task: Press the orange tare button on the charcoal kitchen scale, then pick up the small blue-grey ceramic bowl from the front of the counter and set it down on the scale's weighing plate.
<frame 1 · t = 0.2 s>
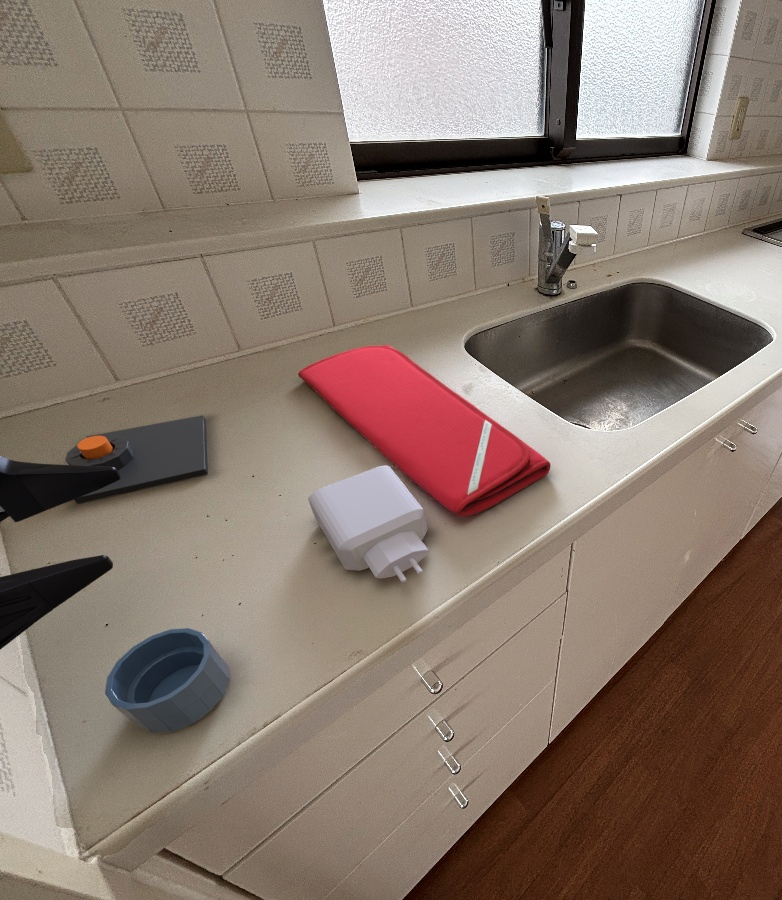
hand: (114, 513, 35), 16 cm above the counter, tool horizontal, fingers open, 9 cm apart
dish drying mat: (418, 425, 73), on the counter
scale: (148, 457, 62), on the counter
bowl: (186, 694, 42), on the counter
tare button: (95, 447, 58), point 3 cm above the counter, slide at 0.1 cm
charger: (384, 546, 56), on the counter
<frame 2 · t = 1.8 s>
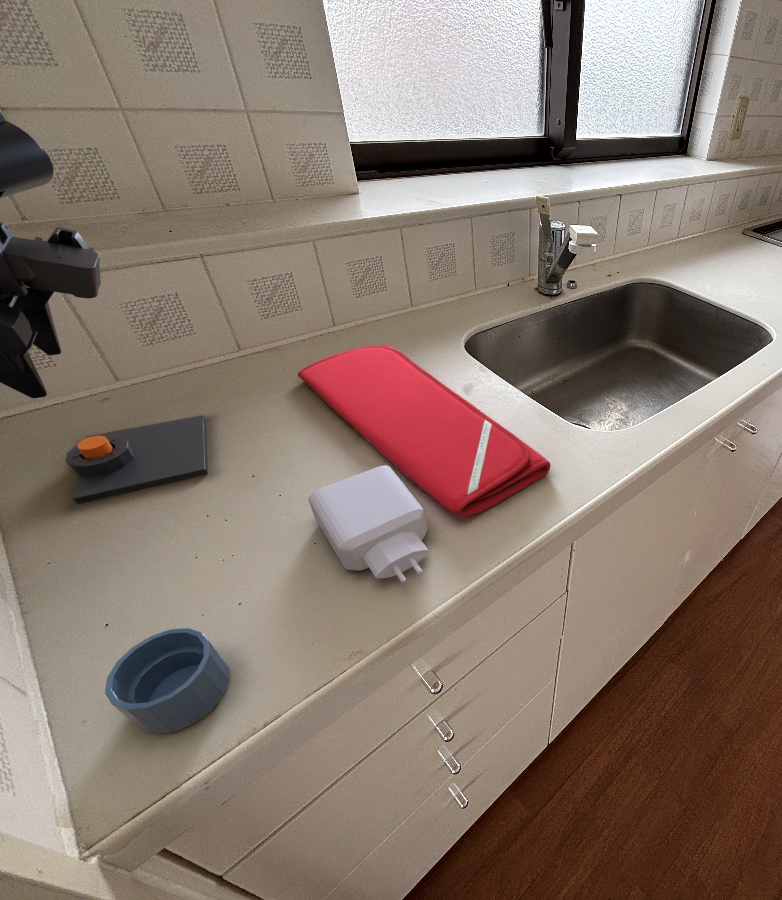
hand: (48, 374, 52), 13 cm above the counter, tool pointing down, fingers open, 8 cm apart
nothing on the counter moved.
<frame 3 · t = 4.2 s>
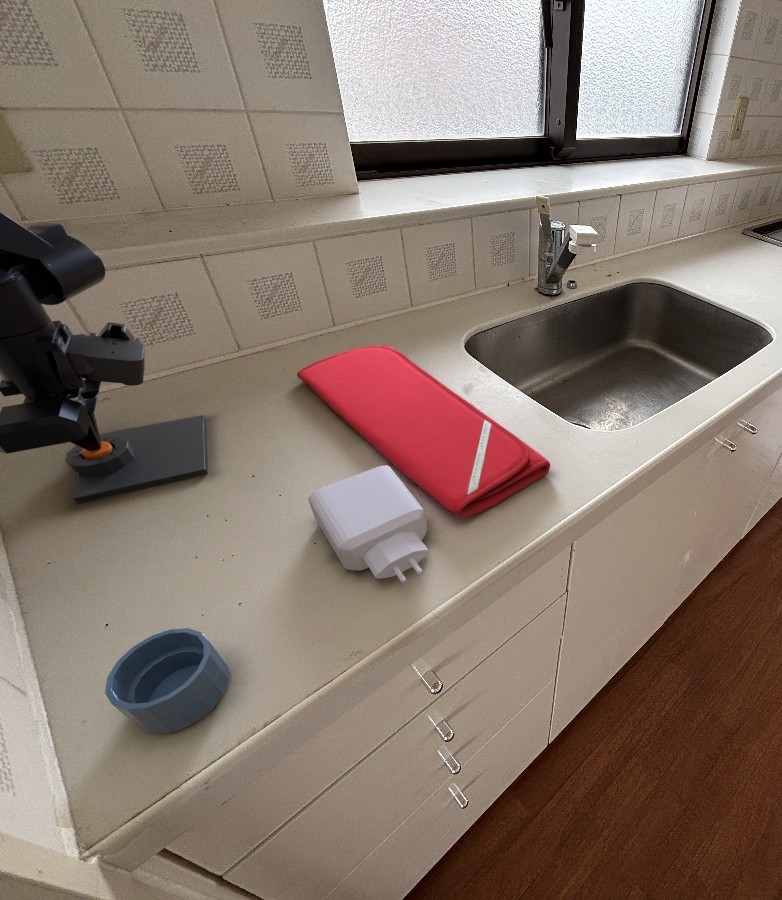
hand: (95, 448, 58), 3 cm above the counter, tool pointing down, fingers closed, pressing on tare button
tare button: (99, 453, 59), point 2 cm above the counter, slide at -0.7 cm, touching gripper
everything else where it was.
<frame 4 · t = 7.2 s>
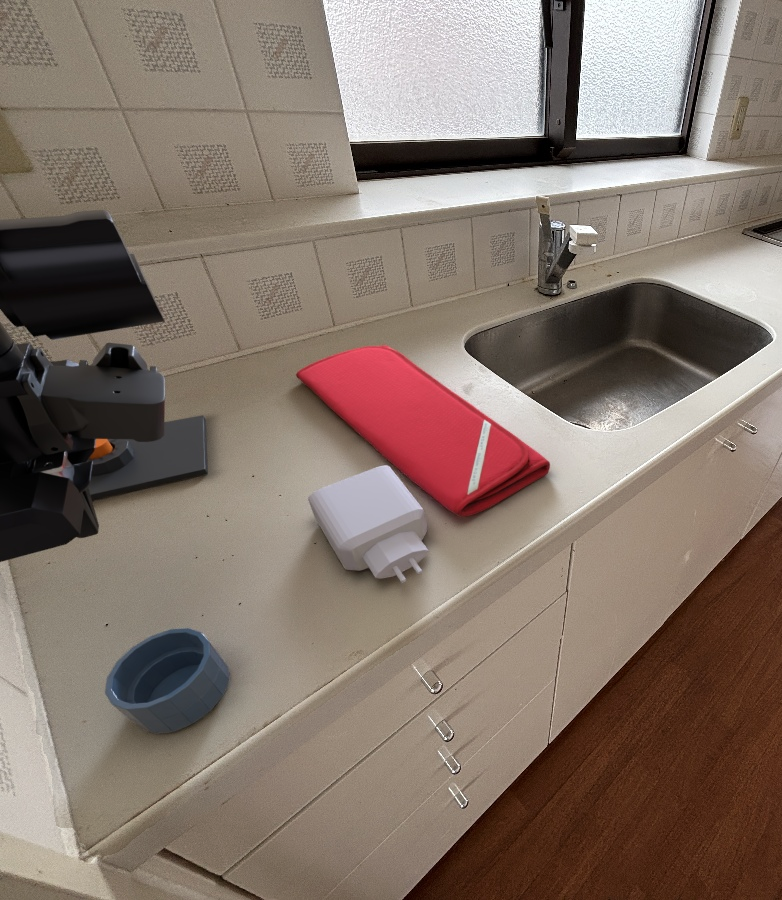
hand: (90, 533, 38), 12 cm above the counter, tool pointing down, fingers closed
tare button: (95, 447, 58), point 3 cm above the counter, slide at 0.1 cm
everything else where it was.
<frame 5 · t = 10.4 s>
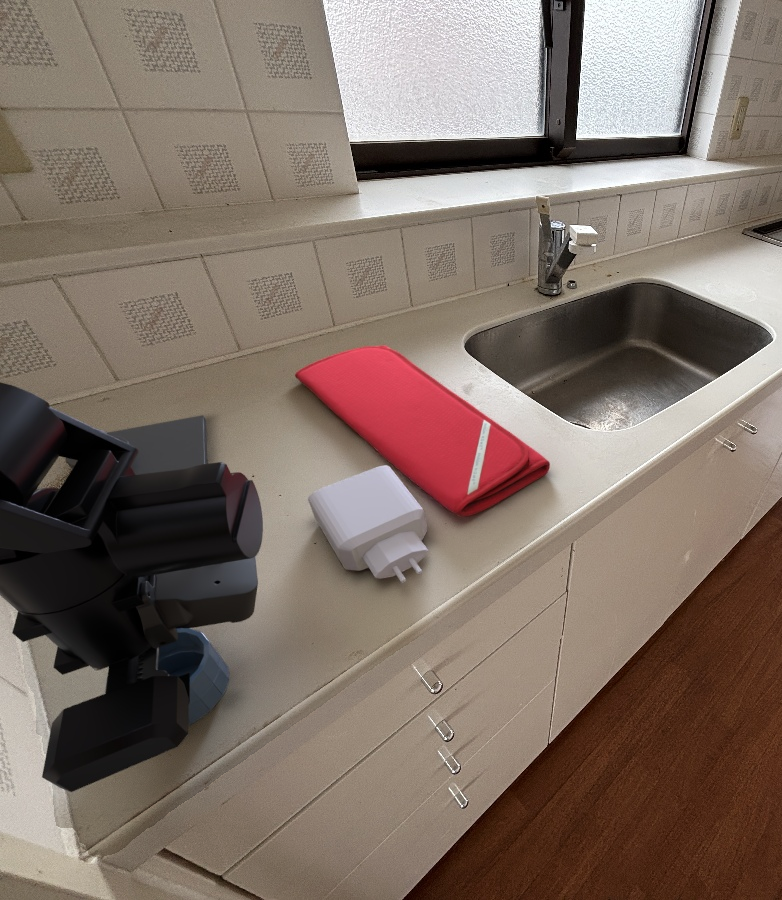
hand: (179, 688, 41), 1 cm above the counter, tool pointing down, fingers closed on bowl, 6 cm apart
bowl: (186, 694, 42), on the counter, touching gripper
everything else where it was.
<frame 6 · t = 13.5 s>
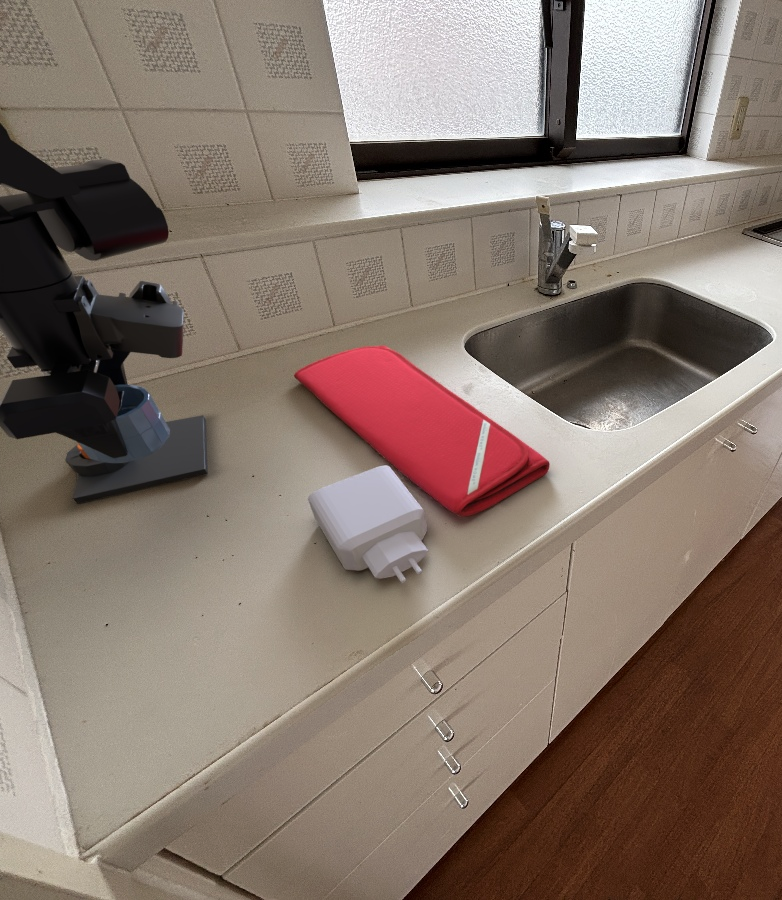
hand: (124, 435, 48), 11 cm above the counter, tool pointing down, fingers closed on bowl, 6 cm apart
bowl: (131, 444, 49), point 10 cm above the counter, touching gripper
everything else where it was.
when the fingers open (2 cm above the counter, at t = 17.0 s): bowl stays where it is, resting on scale.
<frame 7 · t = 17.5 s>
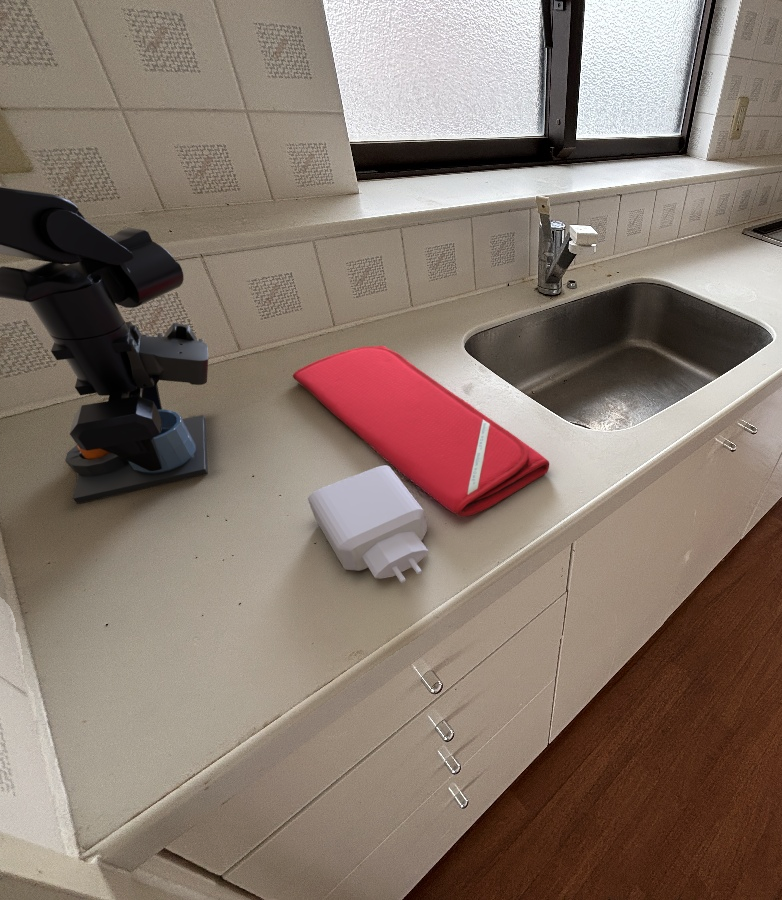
hand: (158, 446, 60), 3 cm above the counter, tool pointing down, fingers open, 9 cm apart
bowl: (165, 457, 61), point 1 cm above the counter, touching scale
everything else where it was.
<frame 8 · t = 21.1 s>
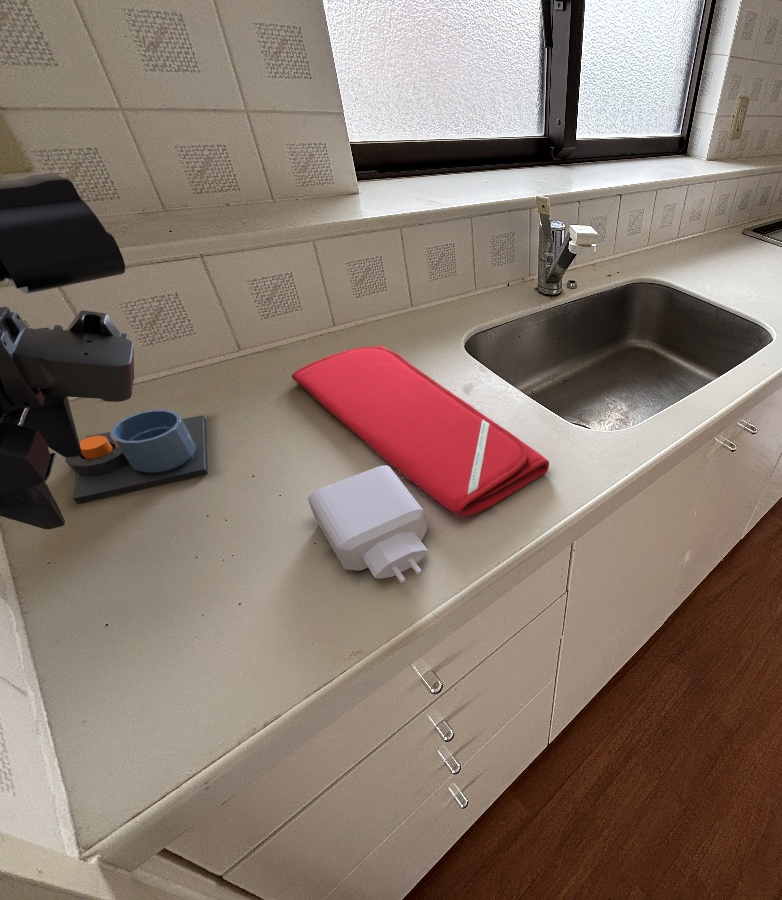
hand: (65, 488, 41), 13 cm above the counter, tool pointing down, fingers open, 9 cm apart
nothing on the counter moved.
at the end: tare button pushed in 0.9 cm at the most during the clip, back to where it started at the end; bowl 0.1 cm from the target spot on the scale, point 0.9 cm above the scale's base; bowl touching scale; bowl tilted 0° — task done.
